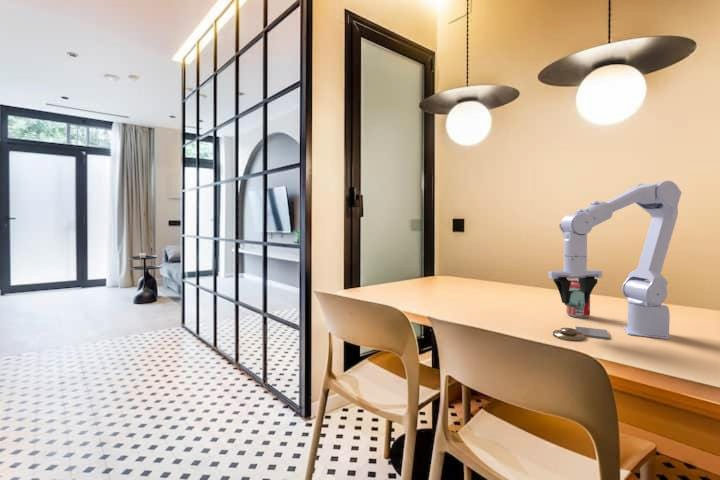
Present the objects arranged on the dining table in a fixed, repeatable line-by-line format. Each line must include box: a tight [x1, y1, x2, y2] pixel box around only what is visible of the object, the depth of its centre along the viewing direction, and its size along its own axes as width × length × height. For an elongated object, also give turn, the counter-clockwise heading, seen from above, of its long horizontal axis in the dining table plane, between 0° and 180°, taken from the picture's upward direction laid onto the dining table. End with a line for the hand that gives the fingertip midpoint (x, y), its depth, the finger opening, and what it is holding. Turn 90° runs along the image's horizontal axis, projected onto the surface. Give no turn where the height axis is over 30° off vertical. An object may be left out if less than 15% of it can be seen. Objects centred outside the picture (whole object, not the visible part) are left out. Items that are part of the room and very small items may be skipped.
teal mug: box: [564, 288, 585, 308], centre depth 105 cm, size 7×5×4 cm
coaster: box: [575, 326, 611, 340], centre depth 108 cm, size 8×8×1 cm
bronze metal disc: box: [552, 327, 586, 342], centre depth 106 cm, size 8×8×2 cm
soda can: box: [565, 278, 591, 319], centre depth 127 cm, size 7×7×13 cm
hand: (574, 302), depth 106 cm, fingers closed on teal mug, 5 cm apart
